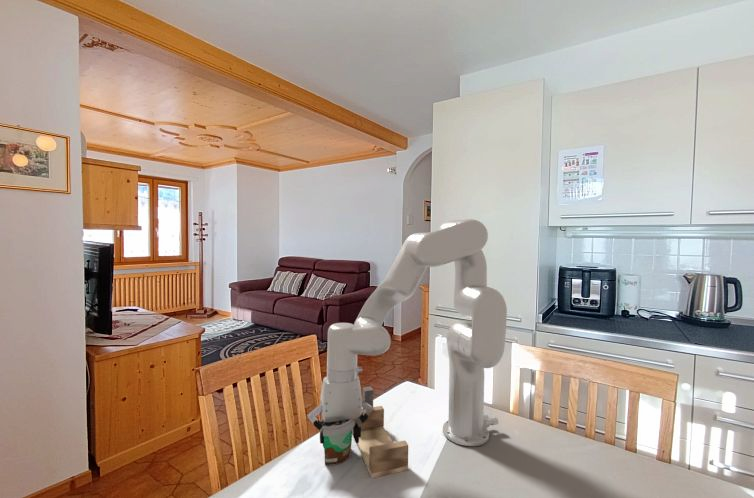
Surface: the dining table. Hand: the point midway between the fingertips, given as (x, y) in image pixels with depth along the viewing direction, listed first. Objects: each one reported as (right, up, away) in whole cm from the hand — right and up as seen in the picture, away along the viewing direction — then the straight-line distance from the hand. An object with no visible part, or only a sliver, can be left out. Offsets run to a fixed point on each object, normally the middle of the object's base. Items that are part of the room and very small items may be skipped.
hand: (340, 442), depth 88 cm
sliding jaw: (+7, -2, +11) cm, 13 cm away
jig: (+9, -3, +3) cm, 10 cm away
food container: (+1, -3, 0) cm, 4 cm away
